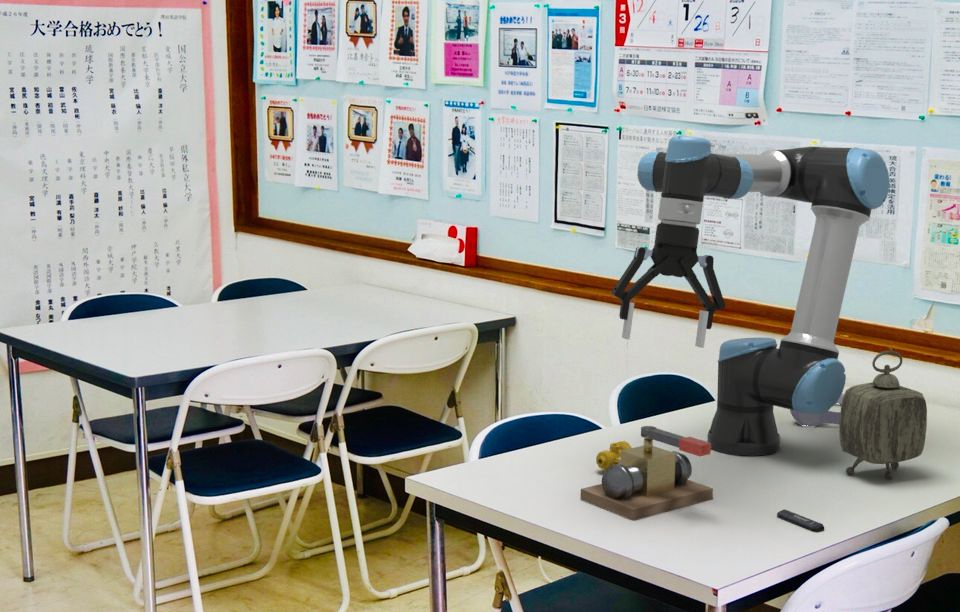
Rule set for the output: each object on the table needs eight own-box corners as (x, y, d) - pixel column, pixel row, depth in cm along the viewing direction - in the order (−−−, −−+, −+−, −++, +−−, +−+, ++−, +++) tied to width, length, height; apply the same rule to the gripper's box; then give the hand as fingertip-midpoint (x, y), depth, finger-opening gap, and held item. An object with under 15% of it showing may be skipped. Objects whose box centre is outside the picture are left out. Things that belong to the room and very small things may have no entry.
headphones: (788, 426, 276) (880, 436, 273) (792, 396, 275) (884, 405, 272) (780, 402, 298) (865, 411, 295) (783, 374, 296) (869, 383, 293)
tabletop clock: (896, 466, 246) (903, 344, 242) (927, 479, 238) (936, 353, 234) (836, 473, 241) (843, 349, 237) (866, 487, 233) (874, 358, 229)
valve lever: (637, 436, 224) (637, 426, 223) (648, 434, 225) (648, 423, 225) (699, 456, 212) (700, 445, 211) (710, 454, 213) (711, 442, 213)
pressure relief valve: (587, 469, 242) (618, 459, 249) (636, 493, 234) (666, 481, 242) (592, 444, 240) (622, 434, 248) (641, 466, 233) (671, 456, 240)
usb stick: (774, 518, 217) (775, 510, 216) (785, 516, 218) (786, 507, 218) (814, 535, 209) (815, 526, 208) (825, 532, 210) (826, 523, 210)
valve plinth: (658, 479, 237) (658, 469, 237) (712, 498, 226) (713, 488, 226) (580, 499, 225) (580, 488, 225) (633, 520, 214) (633, 509, 214)
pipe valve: (668, 478, 233) (669, 426, 232) (695, 488, 228) (697, 435, 226) (597, 496, 223) (598, 442, 221) (624, 506, 217) (625, 451, 216)
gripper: (615, 215, 212) (599, 337, 213) (753, 233, 215) (736, 352, 216) (605, 215, 219) (590, 332, 221) (739, 232, 222) (723, 347, 224)
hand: (662, 342), depth 219 cm, fingers open, 13 cm apart
